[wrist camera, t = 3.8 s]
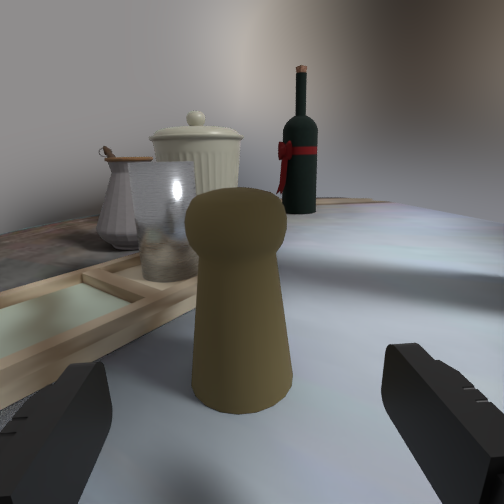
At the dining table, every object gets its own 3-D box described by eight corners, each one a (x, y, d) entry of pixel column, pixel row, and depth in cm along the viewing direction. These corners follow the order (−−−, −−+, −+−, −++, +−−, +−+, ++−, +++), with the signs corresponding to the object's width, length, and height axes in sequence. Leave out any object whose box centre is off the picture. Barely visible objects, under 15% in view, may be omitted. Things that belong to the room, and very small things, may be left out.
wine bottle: (267, 212, 73) (265, 67, 65) (299, 207, 79) (301, 73, 70) (290, 216, 67) (292, 57, 59) (323, 211, 73) (329, 64, 64)
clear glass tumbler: (175, 259, 37) (166, 161, 34) (213, 268, 33) (206, 160, 30) (130, 274, 32) (114, 163, 29) (168, 287, 29) (155, 162, 26)
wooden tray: (180, 257, 42) (178, 240, 41) (256, 275, 35) (256, 256, 34) (-84, 346, 23) (-95, 319, 22) (-34, 428, 16) (-48, 391, 15)
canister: (262, 221, 63) (260, 106, 57) (173, 234, 54) (160, 100, 48) (223, 210, 78) (218, 118, 72) (148, 218, 69) (136, 114, 63)
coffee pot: (189, 244, 48) (180, 139, 43) (108, 259, 42) (88, 138, 37) (145, 223, 65) (136, 146, 60) (83, 231, 58) (68, 146, 54)
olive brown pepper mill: (179, 413, 16) (155, 197, 13) (201, 346, 22) (188, 184, 19) (297, 414, 16) (303, 194, 13) (288, 345, 22) (290, 182, 18)
